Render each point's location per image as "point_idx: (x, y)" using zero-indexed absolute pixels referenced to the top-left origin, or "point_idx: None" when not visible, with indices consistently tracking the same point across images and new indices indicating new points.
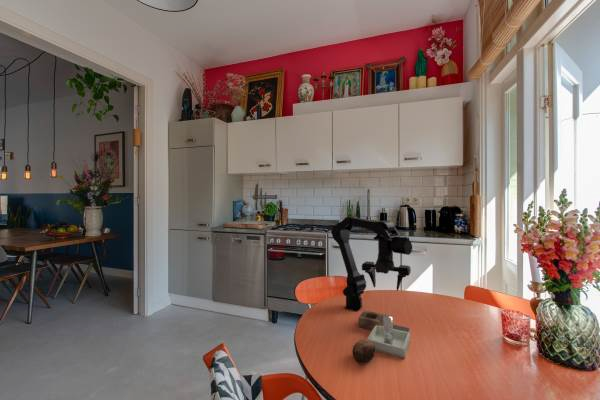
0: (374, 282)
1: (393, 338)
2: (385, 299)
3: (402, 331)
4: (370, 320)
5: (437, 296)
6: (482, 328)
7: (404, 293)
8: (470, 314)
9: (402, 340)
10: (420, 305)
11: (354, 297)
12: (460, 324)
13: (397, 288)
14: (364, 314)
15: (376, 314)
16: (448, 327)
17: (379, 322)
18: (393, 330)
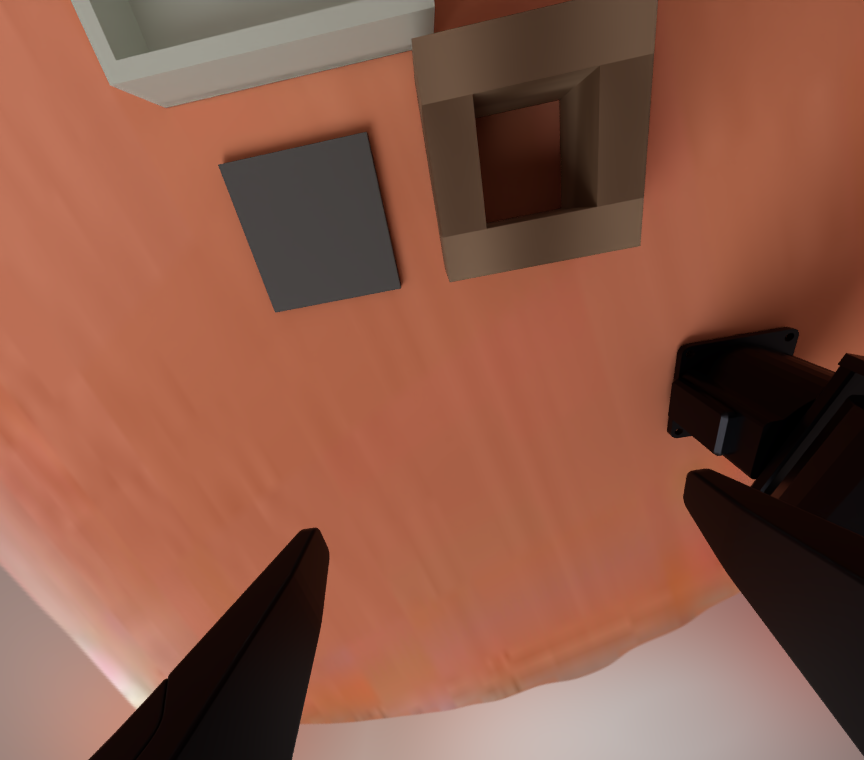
0: (780, 544)
1: (254, 10)
2: (559, 586)
3: (168, 57)
4: (507, 16)
5: (360, 708)
6: (42, 544)
7: (496, 677)
8: (166, 633)
9: (180, 28)
10: (378, 609)
11: (802, 396)
12: (129, 529)
13: (286, 560)
14: (612, 137)
15: (504, 227)
16: (143, 468)
17: (415, 69)
18: (250, 32)
